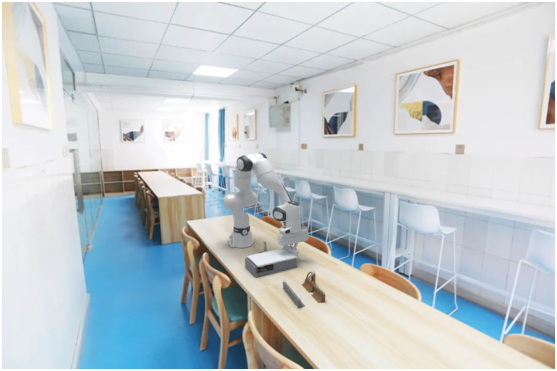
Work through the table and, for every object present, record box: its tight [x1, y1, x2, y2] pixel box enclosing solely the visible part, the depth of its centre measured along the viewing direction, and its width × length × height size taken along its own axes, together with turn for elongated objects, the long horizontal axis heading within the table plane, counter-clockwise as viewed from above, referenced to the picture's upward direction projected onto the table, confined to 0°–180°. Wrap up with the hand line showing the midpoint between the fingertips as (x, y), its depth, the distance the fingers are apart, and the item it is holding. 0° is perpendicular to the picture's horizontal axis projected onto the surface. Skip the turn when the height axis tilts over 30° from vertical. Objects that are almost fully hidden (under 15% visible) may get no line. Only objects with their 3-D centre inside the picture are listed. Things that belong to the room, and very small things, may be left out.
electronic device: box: [247, 241, 268, 256], centre depth 185 cm, size 5×10×15 cm
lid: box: [246, 245, 299, 267], centre depth 167 cm, size 16×26×4 cm, turn 118°
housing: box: [244, 257, 298, 279], centre depth 168 cm, size 16×26×6 cm, turn 118°
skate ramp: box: [282, 271, 326, 309], centre depth 140 cm, size 29×35×8 cm
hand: (293, 249), depth 174 cm, fingers closed
